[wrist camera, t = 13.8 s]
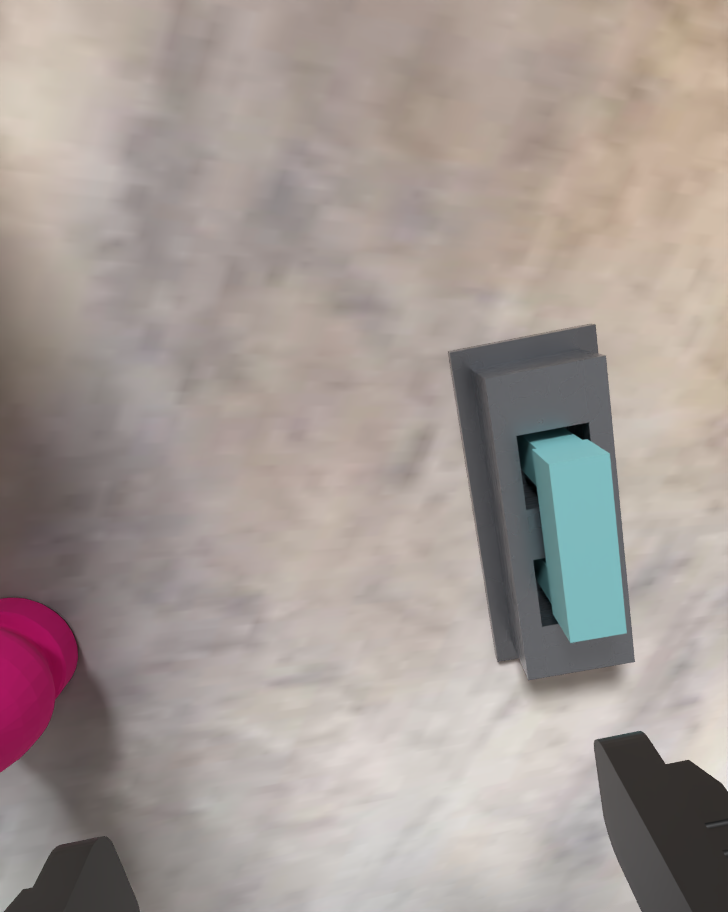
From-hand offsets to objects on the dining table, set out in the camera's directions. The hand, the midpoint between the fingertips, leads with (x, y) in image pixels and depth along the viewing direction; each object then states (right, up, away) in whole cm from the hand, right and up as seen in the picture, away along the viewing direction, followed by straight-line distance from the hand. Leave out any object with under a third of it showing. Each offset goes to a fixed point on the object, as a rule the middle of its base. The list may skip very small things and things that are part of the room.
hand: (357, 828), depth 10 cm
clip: (+9, +4, +22) cm, 24 cm away
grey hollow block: (+9, +4, +22) cm, 25 cm away
